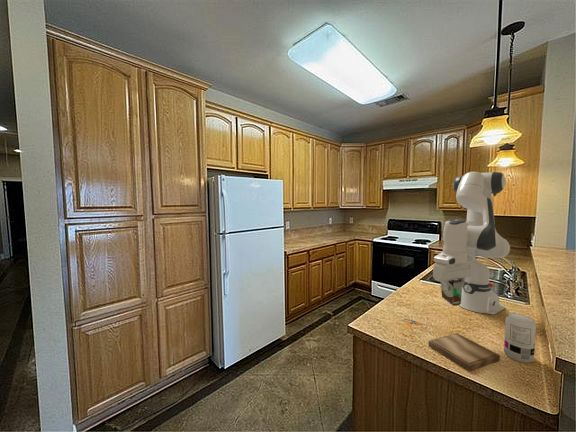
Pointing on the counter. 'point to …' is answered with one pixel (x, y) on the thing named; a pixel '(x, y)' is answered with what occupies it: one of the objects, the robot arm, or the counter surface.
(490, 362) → the base
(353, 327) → the counter surface
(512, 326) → the supplement can
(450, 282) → the food container
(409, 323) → the key chain
